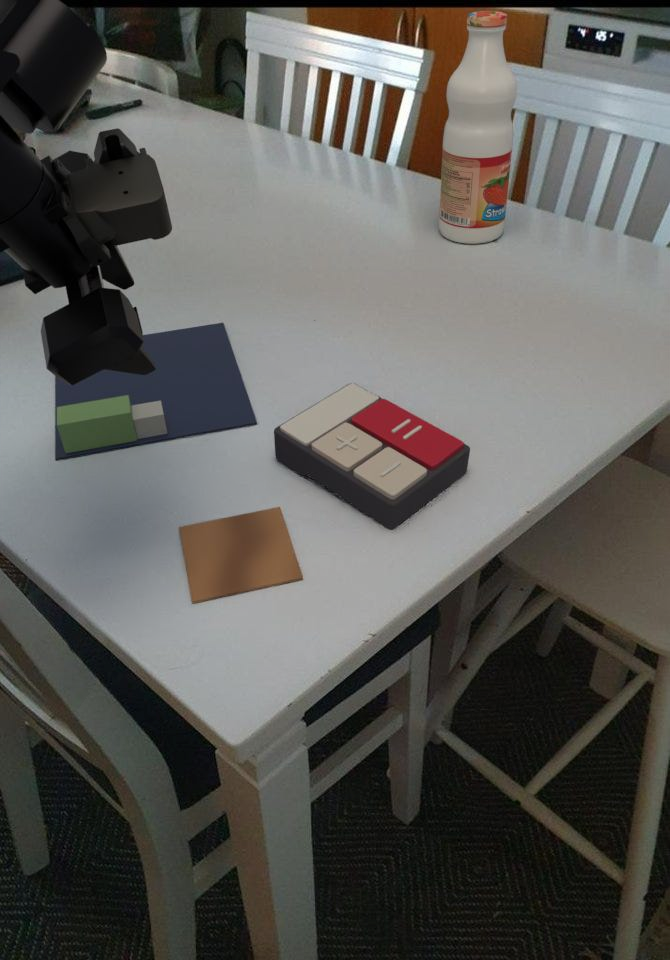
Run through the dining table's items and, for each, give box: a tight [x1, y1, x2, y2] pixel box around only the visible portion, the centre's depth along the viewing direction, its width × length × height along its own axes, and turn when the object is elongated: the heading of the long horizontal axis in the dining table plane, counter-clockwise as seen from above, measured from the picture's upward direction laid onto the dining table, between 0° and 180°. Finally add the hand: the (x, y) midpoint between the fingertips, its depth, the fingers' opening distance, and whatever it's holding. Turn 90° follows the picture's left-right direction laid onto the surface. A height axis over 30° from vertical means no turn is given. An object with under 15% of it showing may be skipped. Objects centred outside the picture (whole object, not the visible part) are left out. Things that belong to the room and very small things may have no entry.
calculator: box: [273, 382, 471, 530], centre depth 75 cm, size 11×4×15 cm
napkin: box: [54, 322, 258, 461], centre depth 89 cm, size 20×22×1 cm
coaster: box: [178, 506, 304, 604], centre depth 68 cm, size 9×9×1 cm
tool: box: [57, 395, 167, 453], centre depth 80 cm, size 10×3×4 cm, turn 105°
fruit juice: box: [438, 10, 518, 245], centre depth 109 cm, size 9×9×28 cm
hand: (139, 327), depth 64 cm, fingers open, 9 cm apart
